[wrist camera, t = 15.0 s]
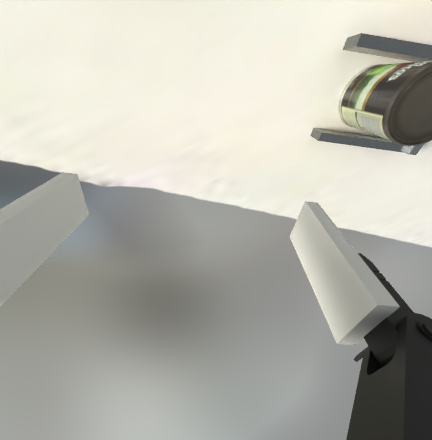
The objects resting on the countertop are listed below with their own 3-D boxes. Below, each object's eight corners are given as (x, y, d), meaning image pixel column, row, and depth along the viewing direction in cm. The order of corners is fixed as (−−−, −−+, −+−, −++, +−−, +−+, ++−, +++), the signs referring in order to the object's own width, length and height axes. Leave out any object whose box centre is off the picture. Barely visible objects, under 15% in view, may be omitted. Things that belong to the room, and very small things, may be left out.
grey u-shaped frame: (347, 37, 33) (365, 32, 29) (455, 56, 34) (487, 53, 30) (310, 135, 42) (320, 141, 38) (397, 147, 43) (415, 155, 39)
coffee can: (340, 74, 36) (398, 71, 24) (404, 56, 34) (497, 45, 23) (335, 133, 42) (379, 153, 30) (389, 120, 40) (457, 137, 29)
